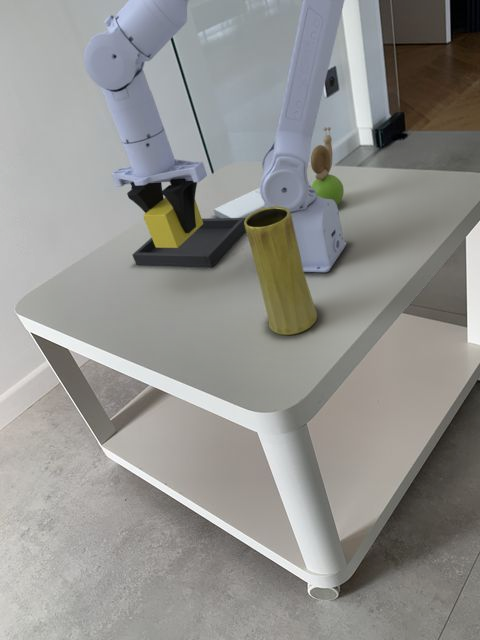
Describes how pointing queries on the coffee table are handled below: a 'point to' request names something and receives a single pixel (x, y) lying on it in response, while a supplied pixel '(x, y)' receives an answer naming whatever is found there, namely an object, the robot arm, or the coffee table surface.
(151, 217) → the sponge
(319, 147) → the snail figurine
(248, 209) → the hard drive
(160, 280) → the coffee table surface
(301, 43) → the robot arm
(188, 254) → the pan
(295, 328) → the vase
